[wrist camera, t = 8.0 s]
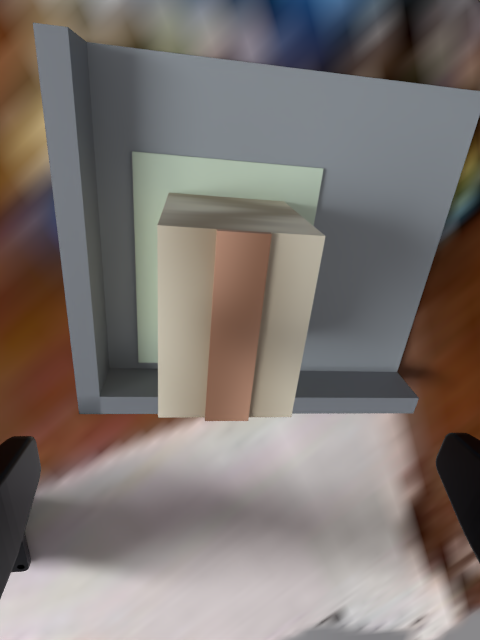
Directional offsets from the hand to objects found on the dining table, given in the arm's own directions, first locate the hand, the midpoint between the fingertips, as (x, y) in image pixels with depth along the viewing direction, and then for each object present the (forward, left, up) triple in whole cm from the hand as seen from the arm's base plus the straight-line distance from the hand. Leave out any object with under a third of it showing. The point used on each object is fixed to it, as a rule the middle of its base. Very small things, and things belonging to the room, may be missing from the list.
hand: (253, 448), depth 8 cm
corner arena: (+1, -2, -12) cm, 12 cm away
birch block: (0, 0, -11) cm, 11 cm away
